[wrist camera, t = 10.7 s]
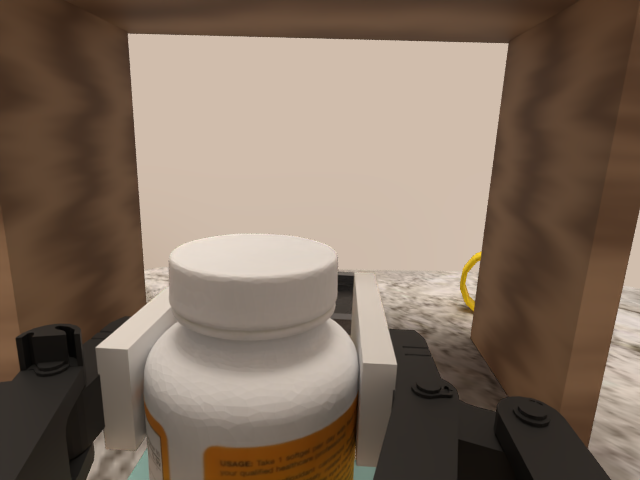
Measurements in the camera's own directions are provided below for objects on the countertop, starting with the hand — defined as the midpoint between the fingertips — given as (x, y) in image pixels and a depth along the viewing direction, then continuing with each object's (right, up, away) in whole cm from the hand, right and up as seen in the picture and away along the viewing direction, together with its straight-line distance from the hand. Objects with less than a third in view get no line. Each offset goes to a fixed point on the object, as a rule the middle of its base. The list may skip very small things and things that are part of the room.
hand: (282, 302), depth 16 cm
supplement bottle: (0, -7, -4) cm, 8 cm away
